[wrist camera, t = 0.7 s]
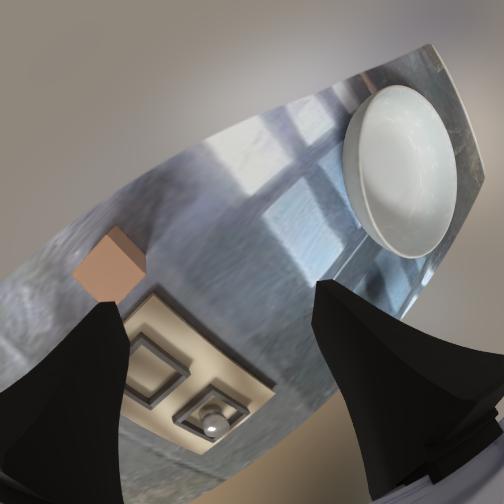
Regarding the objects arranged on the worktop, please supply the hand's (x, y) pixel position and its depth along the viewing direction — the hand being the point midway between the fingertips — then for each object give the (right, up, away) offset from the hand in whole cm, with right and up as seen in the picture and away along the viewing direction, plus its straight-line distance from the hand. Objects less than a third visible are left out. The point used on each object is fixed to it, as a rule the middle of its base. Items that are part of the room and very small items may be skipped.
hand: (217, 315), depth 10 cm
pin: (-4, -17, +21) cm, 27 cm away
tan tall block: (-11, +2, +14) cm, 18 cm away
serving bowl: (+18, +13, +24) cm, 33 cm away
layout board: (-7, -13, +19) cm, 25 cm away
